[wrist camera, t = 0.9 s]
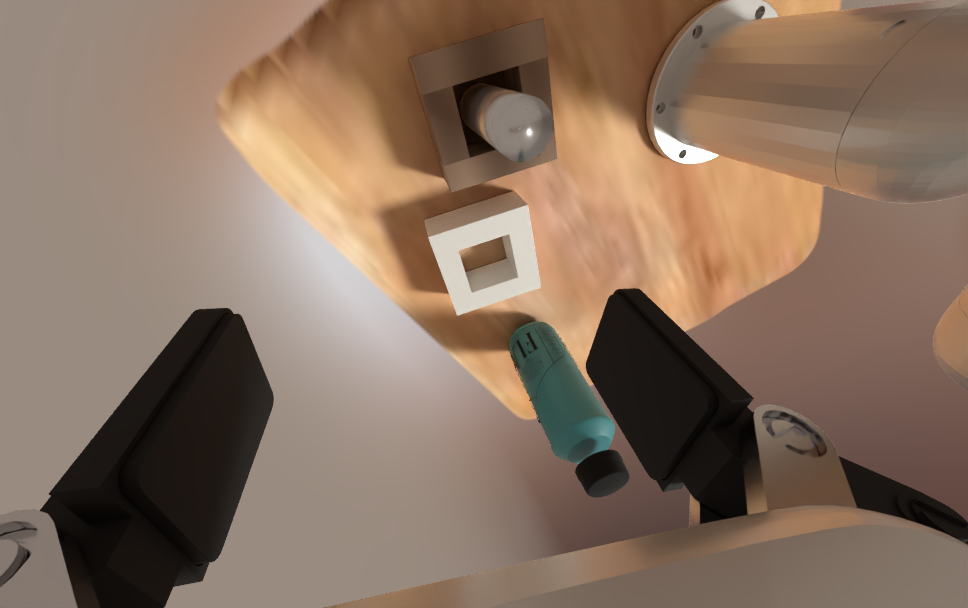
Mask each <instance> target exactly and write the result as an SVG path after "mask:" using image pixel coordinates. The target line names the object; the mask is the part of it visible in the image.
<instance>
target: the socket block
mask: <svg viewBox="0 0 968 608" xmlns="http://www.w3.org/2000/svg"><path fill="white" fill-rule="evenodd" d="M408 59H409V63H410V66H411V69H412V73H413V76H414V79H415V83H416V86H417V89H418V92H419V96H420V99H421V102H422V106H423V109H424V112H425V116H426V119H427V122H428V125H429V129H430V132H431V135H432V139H433V142H434V145H435V149H436V152H437V155H438V159H439V162H440V165H441V168H442V172H443V175H444V178H445V181H446V182H447V184H448V186H449V188H450V190H451V192H456V191H459V190H462V189H465V188H468V187H471V186H474V185H477V184H480V183H484V182H487V181H490V180H493V179H496V178H499V177H502V176H505V175H508V174H512V173H515V172H518V171H521V170H524V169H527V168H530V167H533V166H536V165H540V164H543V163H546V162H549V161H552V160H555V159H557V152H556V141H555V131H554V120H553V110H552V99H551V89H550V78H549V68H548V57H547V47H546V36H545V26H544V18H542V19H538V20H534V21H530V22H526V23H523V24H519V25H516V26H513V27H509V28H506V29H503V30H499V31H496V32H493V33H489V34H486V35H483V36H479V37H476V38H473V39H469V40H466V41H463V42H459V43H456V44H453V45H449V46H446V47H443V48H439V49H436V50H433V51H429V52H426V53H423V54H419V55H416V56H413V57H409V58H408ZM503 70H504V76H505V82H506V88H507V90H511V91H515V92H519V93H523V94H527V95H531V96H535V97H537V98H539V99H541V100H542V101H543V102H544V103H545V104H546V105H547V107H548V108H549V110H550V113H551V116H552V121H553V128H552V135H551V138H550V141H549V143H548V145H547V146H546V148H545V149H544V151H543V152H542V153H541V154H540V155H539V156H537V157H536V158H534V159H532V160H530V161H526V162H515V161H512V160H510V159H508V158H507V157H505V156H504V155H503V154H502V153H500V152H499V151H498V150H497V149H496V148H494V147H493V146H492V145H491V144H489V143H488V142H487V141H486V140H482V141H479V142H476V143H473V144H470V145H467V144H466V140H465V136H464V132H463V128H462V124H461V120H460V116H459V112H458V108H457V104H456V99H455V95H454V91H453V87H452V86H454V85H457V84H460V83H463V82H467V81H470V80H473V79H477V78H480V77H483V76H486V75H490V74H493V73H496V72H499V71H503Z"/></svg>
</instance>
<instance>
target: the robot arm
mask: <svg viewBox="0 0 968 608" xmlns="http://www.w3.org/2000/svg"><path fill="white" fill-rule="evenodd" d="M646 120H647V129H648V133H649V136H650V139H651V141H652V143H653V145H654V147H655V148H656V149H657V150H658V152H659V153H660V154H661V155H663V156H664V157H666V158H668V159H669V160H672V161H675V162H677V163H683V164H696V163H701V162H704V161H707V160H710V159H712V158H714V157H716V156H718V155H720V156H723V157H726V158H730V159H733V160H737V161H740V162H744V163H747V164H751V165H754V166H758V167H761V168H765V169H768V170H772V171H775V172H778V173H782V174H785V175H789V176H792V177H796V178H799V179H803V180H806V181H810V182H813V183H817V184H820V185H823V186H827V187H831V188H834V189H837V190H841V191H845V192H848V193H852V194H856V195H859V196H863V197H866V198H870V199H874V200H879V201H884V202H891V203H923V202H931V201H939V200H944V199H949V198H954V197H958V196H962V195H966V194H968V0H933V1H923V2H914V3H905V4H897V5H896V4H895V5H886V6H876V7H867V8H857V9H849V10H838V11H829V12H819V13H810V14H801V15H791V16H782V17H779V16H778V14H777V12H776V10H775V9H774V8H773V7H772V6H771V5H770V4H769V3H768V2H767V1H765V0H721V1H718V2H716V3H714V4H712V5H710V6H708V7H707V8H705V9H703V10H702V11H701V12H699V13H698V14H697V15H696V16H694V17H693V18H692V19H691V20H689V22H688V23H687V24H686V25H685V26H684V27H683V28H682V29H681V30H680V31H679V32H678V34H677V35H676V36H675V38H674V39H673V41H672V42H671V43H670V45H669V46H668V48H667V49H666V51H665V53H664V55H663V56H662V58H661V60H660V62H659V64H658V66H657V69H656V71H655V74H654V76H653V79H652V82H651V86H650V90H649V94H648V98H647V109H646ZM933 350H934V353H935V356H936V358H937V361H938V362H939V364H940V366H941V367H942V368H943V369H944V371H945V372H946V373H947V374H948V375H949V376H950V377H951V378H952V379H953V380H954V381H955V382H956V383H957V384H959V385H960V386H961V387H963V388H964V389H966V390H967V391H968V284H967V286H966V287H965V288H964V289H963V291H962V292H961V293H960V295H959V296H958V297H957V298H956V299H955V300H954V302H953V303H952V304H951V305H950V307H949V308H948V309H947V311H946V312H945V313H944V315H943V316H942V318H941V319H940V321H939V323H938V325H937V327H936V330H935V333H934V337H933ZM586 370H587V373H588V375H589V377H590V379H591V380H592V382H593V384H594V385H595V387H596V389H597V390H598V392H599V394H600V395H601V397H602V399H603V400H604V402H605V404H606V405H607V407H608V409H609V410H610V412H611V414H612V415H613V417H614V419H615V420H616V422H617V424H618V425H619V427H620V429H621V430H622V432H623V433H624V435H625V437H626V439H627V440H628V442H629V444H630V445H631V447H632V449H633V450H634V452H635V453H636V455H637V457H638V459H639V460H640V462H641V463H642V465H643V467H644V469H645V470H646V472H647V473H648V475H649V476H650V477H651V478H652V479H654V480H656V481H657V482H658V484H659V486H660V487H661V489H662V491H663V492H665V491H671V490H675V489H681V488H682V487H683V486H684V485H685V486H686V487H687V489H688V490H689V492H690V520H689V527H685V528H681V529H676V530H671V531H667V532H662V533H658V534H653V535H648V536H644V537H639V538H635V539H630V540H626V541H621V542H616V543H611V544H607V545H602V546H598V547H593V548H589V549H584V550H580V551H575V552H571V553H566V554H561V555H558V556H553V557H548V558H544V559H539V560H534V561H530V562H525V563H521V564H517V565H512V566H507V567H503V568H499V569H494V570H489V571H485V572H481V573H476V574H471V575H467V576H463V577H458V578H454V579H449V580H444V581H440V582H435V583H431V584H426V585H422V586H418V587H414V588H409V589H405V590H400V591H396V592H392V593H387V594H382V595H378V596H374V597H369V598H365V599H360V600H356V601H351V602H347V603H343V604H339V605H334V606H329V607H325V608H968V522H967V521H966V520H965V519H964V518H963V517H962V516H960V515H959V514H958V513H957V512H955V511H954V510H953V509H951V508H950V507H948V506H946V505H945V504H943V503H941V502H939V501H937V500H935V499H933V498H931V497H929V496H927V495H925V494H923V493H921V492H919V491H917V490H915V489H912V488H910V487H908V486H905V485H903V484H901V483H899V482H896V481H894V480H892V479H890V478H887V477H885V476H883V475H880V474H878V473H876V472H873V471H871V470H869V469H867V468H864V467H862V466H860V465H858V464H855V463H853V462H851V461H848V460H846V459H844V458H841V457H839V456H838V454H837V451H836V448H835V447H834V445H833V443H832V441H831V440H830V438H829V437H828V436H827V435H826V434H825V433H824V432H823V431H822V430H821V429H820V428H819V427H817V426H816V425H815V424H814V423H813V422H811V421H810V420H808V419H806V418H805V417H803V416H801V415H800V414H798V413H796V412H794V411H791V410H789V409H787V408H783V407H780V406H776V405H763V406H759V407H758V408H757V409H755V411H754V412H751V411H750V409H748V407H747V406H748V405H749V404H750V402H751V401H752V400H753V397H752V396H751V395H750V394H749V393H747V391H746V390H745V389H743V388H742V387H741V386H740V385H739V384H738V383H737V382H736V381H735V380H734V379H733V378H732V377H731V376H730V375H729V374H728V373H727V372H726V371H725V370H724V369H723V368H722V367H721V366H720V365H718V364H717V363H716V362H715V361H714V360H713V359H712V358H711V357H710V356H709V355H708V354H707V353H706V352H705V351H704V350H703V349H702V348H701V347H700V346H699V345H698V344H696V343H695V342H694V341H693V340H692V339H691V338H690V337H689V336H688V335H687V334H686V333H685V332H684V331H683V330H682V329H681V328H680V327H679V326H678V325H677V324H676V323H675V322H674V321H673V320H671V319H670V318H669V317H668V316H667V315H666V314H665V313H664V312H663V311H662V310H661V309H660V308H659V307H658V306H657V305H656V304H655V303H654V302H653V301H652V300H651V299H650V298H648V297H647V296H646V295H645V294H644V293H643V292H642V291H641V290H640V289H636V288H633V289H618V290H616V291H615V292H614V294H613V295H611V296H610V297H609V298H608V301H607V304H606V307H605V309H604V312H603V315H602V318H601V321H600V324H599V327H598V330H597V333H596V335H595V338H594V341H593V344H592V347H591V350H590V353H589V356H588V359H587V361H586ZM273 400H274V397H273V392H272V390H271V387H270V384H269V382H268V379H267V377H266V375H265V372H264V370H263V367H262V365H261V362H260V360H259V358H258V355H257V352H256V350H255V347H254V345H253V343H252V340H251V338H250V335H249V333H248V330H247V328H246V325H245V323H244V320H243V318H242V316H241V315H239V314H233V312H232V311H231V310H230V309H228V308H219V309H217V308H216V309H199V310H196V311H194V312H193V313H192V314H191V316H190V317H189V318H188V320H187V321H186V322H185V323H184V324H183V326H182V327H181V328H180V329H179V331H178V332H177V333H176V335H175V336H174V337H173V338H172V339H171V341H170V342H169V343H168V345H167V346H166V347H165V348H164V350H163V351H162V352H161V353H160V355H159V356H158V357H157V358H156V360H155V361H154V362H153V363H152V365H151V366H150V367H149V368H148V370H147V371H146V372H145V373H144V375H143V376H142V377H141V378H140V380H139V381H138V382H137V384H136V385H135V386H134V387H133V389H132V390H131V391H130V392H129V394H128V395H127V396H126V397H125V399H124V400H123V401H122V402H121V404H120V405H119V406H118V407H117V409H116V410H115V411H114V412H113V414H112V415H111V416H110V417H109V419H108V420H107V421H106V422H105V424H104V425H103V426H102V428H101V429H100V430H99V431H98V433H97V434H96V435H95V436H94V438H93V439H92V440H91V441H90V443H89V444H88V445H87V446H86V448H85V449H84V450H83V451H82V453H81V454H80V455H79V456H78V458H77V459H76V460H75V461H74V463H73V464H72V465H71V466H70V468H69V469H68V470H67V472H66V473H65V474H64V475H63V477H62V478H61V479H60V480H59V482H58V483H57V484H56V485H55V487H54V488H53V489H52V490H51V492H50V493H49V495H51V497H50V498H49V499H48V501H47V502H46V503H45V505H44V506H43V507H42V508H41V510H40V511H38V510H21V511H14V512H10V513H7V514H3V515H0V608H164V607H165V605H166V602H167V600H168V598H169V596H170V593H171V591H172V589H173V587H175V586H180V585H185V584H190V583H195V582H200V581H203V578H204V575H205V573H206V570H207V567H208V565H209V562H213V561H215V560H216V559H217V558H218V556H219V555H220V553H221V551H222V548H223V546H224V543H225V540H226V537H227V534H228V532H229V529H230V526H231V523H232V520H233V517H234V515H235V512H236V509H237V506H238V503H239V500H240V498H241V495H242V492H243V489H244V486H245V484H246V481H247V478H248V475H249V472H250V469H251V467H252V464H253V461H254V458H255V455H256V452H257V450H258V447H259V444H260V441H261V438H262V436H263V433H264V430H265V427H266V424H267V421H268V418H269V416H270V413H271V410H272V407H273Z"/></svg>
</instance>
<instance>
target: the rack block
mask: <svg viewBox="0 0 968 608" xmlns="http://www.w3.org/2000/svg"><path fill="white" fill-rule="evenodd" d="M424 223H425V227H426V231H427V235H428V238H429V241H430V244H431V247H432V249H433V252H434V255H435V257H436V260H437V263H438V265H439V268H440V271H441V273H442V276H443V279H444V281H445V284H446V287H447V290H448V292H449V295H450V298H451V300H452V303H453V306H454V308H455V311H456V314H457V316H458V315H461V314H464V313H467V312H470V311H473V310H476V309H479V308H482V307H485V306H488V305H491V304H494V303H497V302H499V301H502V300H505V299H508V298H511V297H514V296H517V295H520V294H523V293H526V292H529V291H532V290H535V289H538V288H541V284H540V277H539V271H538V265H537V259H536V252H535V246H534V240H533V234H532V227H531V221H530V215H529V208H528V204H527V203H526V202H525V201H524V200H523V199H522V198H521V197H520V196H519V195H518V194H517V193H516V192H515V191H511V192H508V193H505V194H502V195H499V196H496V197H493V198H490V199H487V200H484V201H480V202H477V203H474V204H471V205H468V206H465V207H462V208H459V209H456V210H453V211H450V212H447V213H443V214H440V215H437V216H434V217H431V218H428V219H425V220H424ZM499 237H502V240H503V244H504V249H505V253H506V258H507V259H504V260H501V261H498V262H495V263H492V264H489V265H486V266H483V267H480V268H477V269H474V270H471V271H468V272H465V270H464V267H463V264H462V261H461V257H460V254H459V250H462V249H465V248H468V247H471V246H475V245H478V244H481V243H484V242H487V241H490V240H493V239H496V238H499Z"/></svg>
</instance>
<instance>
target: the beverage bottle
mask: <svg viewBox="0 0 968 608" xmlns="http://www.w3.org/2000/svg"><path fill="white" fill-rule="evenodd" d="M561 340H562V338H559V335H557V333H556V331H555V330H554V329H553V328H552V327H551V326H550V325H548V324H547V323H544V322H531V323H527V324H525V325H523V326H521V327H520V328H518V329H517V330H516V331H515V332H514V333H513V335H512V336H511V338H510V341H509V351H510V352H509V353H510V354H511V356H510V357H512V359H513V362H514V363H515V364H514V366H515V365H516V366H515V368H516V367H517V370H518V372H519V374H520V376H519V377H521V378H520V379H522V380H521V381H522V382H523V383H524V384H523V385H524V386H525V387H524V388H526V391H527V393H528V395H529V397H530V400H529V401H531V402H532V404H533V406H534V409H535V411H536V414H537V415H538V417H537V419H538V418H539V421H540V422H539V423H541V425H542V427H543V429H544V431H545V433H546V435H547V437H548V440H549V441H550V444H551V447H552V450H553V452H554V454H555V455H556V456H557V457H559V458H561V459H563V460H566V461H569V462H573V463H579V464H578V466H577V467H576V470H575V471H576V472H575V473H576V475H577V477H578V479H579V481H580V482H581V483H582V485H583V487H584V489H585V491H586V493H587V494H588V495H589V496H591V497H603V496H607V495H610V494H612V493H614V492H616V491H618V490H619V489H620V488H622V487H623V486H624V485H625V484H626V483H627V482H628V480H629V473H628V471H627V469H626V467H625V465H624V463H623V460H622V458H621V456H620V455H619V453H618V452H617V451H615V450H607V449H608V448H609V446H610V444H611V441H612V439H613V436H614V431H615V425H614V422H613V421H612V419H611V418H610V417H609V416H608V415H607V413H606V411H605V410H604V408H603V407H602V405H601V403H600V402H599V400H598V399H597V397H596V396H595V394H594V392H593V391H592V389H591V388H590V386H589V385H588V383H587V381H586V380H585V378H584V377H583V375H582V374H581V372H580V370H579V369H580V368H579V369H578V367H577V365H576V363H575V362H574V360H573V358H572V357H571V355H570V353H569V352H568V351H567V349H566V345H565V344H563V343H564V342H563V343H562V341H561ZM564 345H565V346H564ZM568 350H569V349H568ZM510 354H509V355H510ZM517 370H516V371H517ZM519 374H518V375H519ZM532 408H533V407H532ZM536 414H535V415H536Z"/></svg>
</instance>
